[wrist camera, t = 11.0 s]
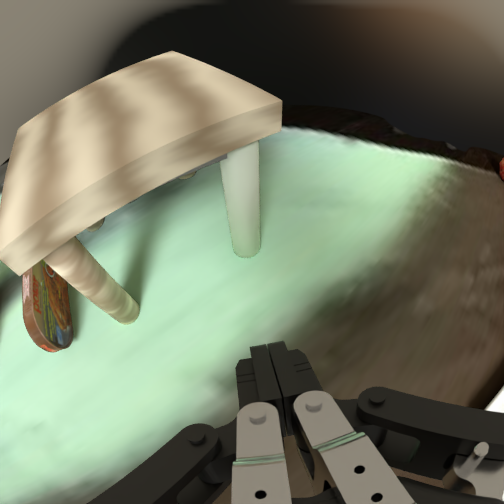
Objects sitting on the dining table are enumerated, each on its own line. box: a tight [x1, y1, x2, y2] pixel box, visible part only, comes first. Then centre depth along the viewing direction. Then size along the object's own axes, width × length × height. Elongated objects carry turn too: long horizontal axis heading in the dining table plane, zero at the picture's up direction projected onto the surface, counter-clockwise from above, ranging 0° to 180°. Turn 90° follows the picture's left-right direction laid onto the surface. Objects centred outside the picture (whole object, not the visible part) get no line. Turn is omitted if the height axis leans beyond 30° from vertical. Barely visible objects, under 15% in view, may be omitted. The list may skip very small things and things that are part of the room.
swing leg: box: [127, 140, 260, 258], centre depth 28 cm, size 13×4×17 cm, turn 119°
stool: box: [0, 51, 282, 325], centre depth 30 cm, size 24×24×21 cm
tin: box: [22, 259, 73, 352], centre depth 29 cm, size 15×3×8 cm, turn 25°
